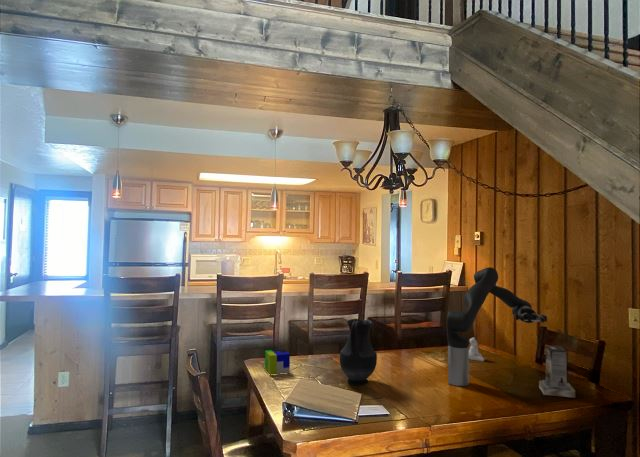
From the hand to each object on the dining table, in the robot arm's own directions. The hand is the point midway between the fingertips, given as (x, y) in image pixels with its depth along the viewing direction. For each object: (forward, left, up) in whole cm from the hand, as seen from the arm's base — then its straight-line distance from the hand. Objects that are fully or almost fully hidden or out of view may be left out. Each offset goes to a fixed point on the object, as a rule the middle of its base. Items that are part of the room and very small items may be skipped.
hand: (533, 320), depth 208 cm
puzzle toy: (-122, -27, -28) cm, 128 cm away
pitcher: (-80, -32, -28) cm, 91 cm away
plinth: (+6, -18, -28) cm, 34 cm away
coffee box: (+6, -18, -25) cm, 31 cm away
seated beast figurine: (-25, +27, -28) cm, 46 cm away
